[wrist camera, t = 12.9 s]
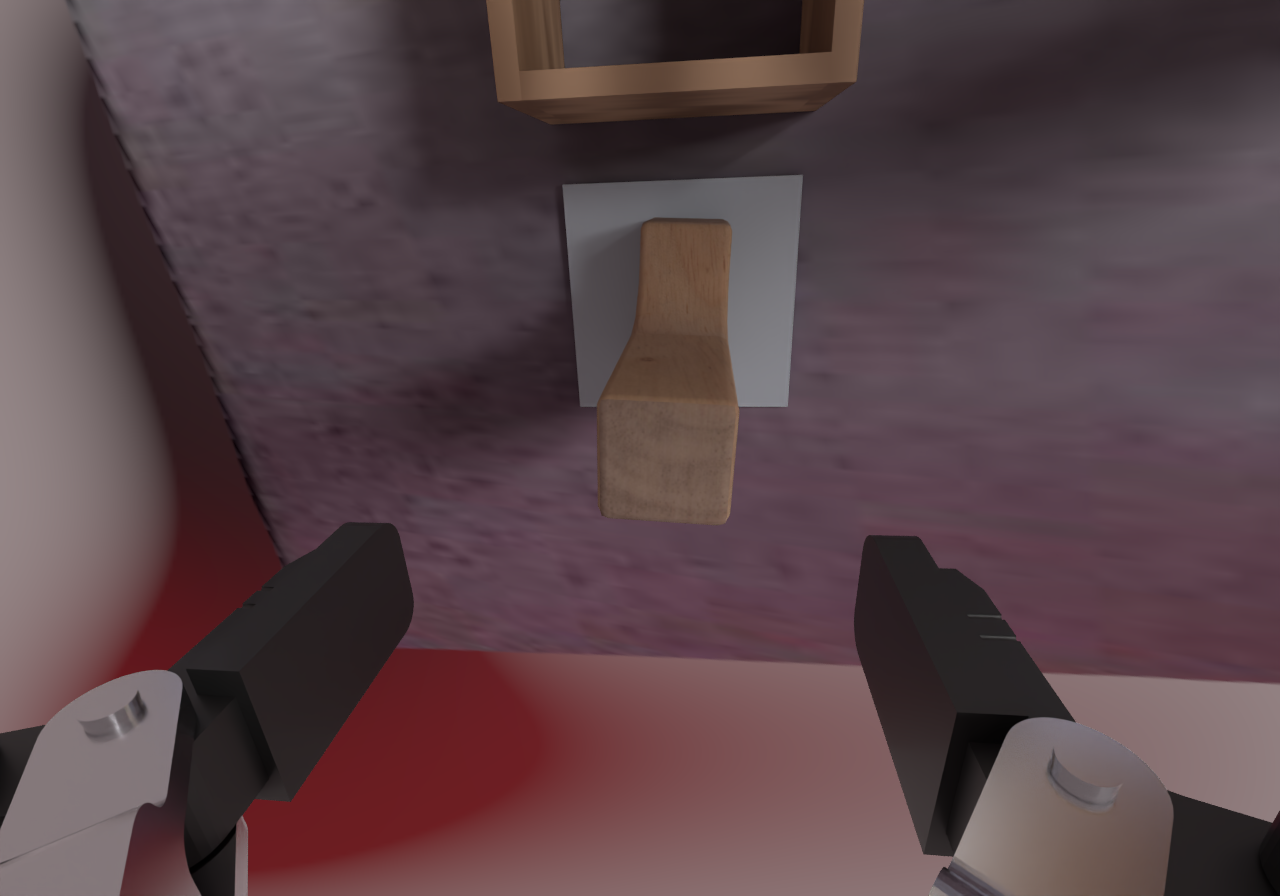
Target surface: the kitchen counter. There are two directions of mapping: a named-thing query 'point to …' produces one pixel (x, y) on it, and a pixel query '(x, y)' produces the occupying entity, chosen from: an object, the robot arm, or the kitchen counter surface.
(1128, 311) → the kitchen counter surface
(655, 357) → the wooden block
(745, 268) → the grey mat
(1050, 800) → the robot arm
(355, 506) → the kitchen counter surface
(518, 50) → the walnut sleeve
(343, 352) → the kitchen counter surface
